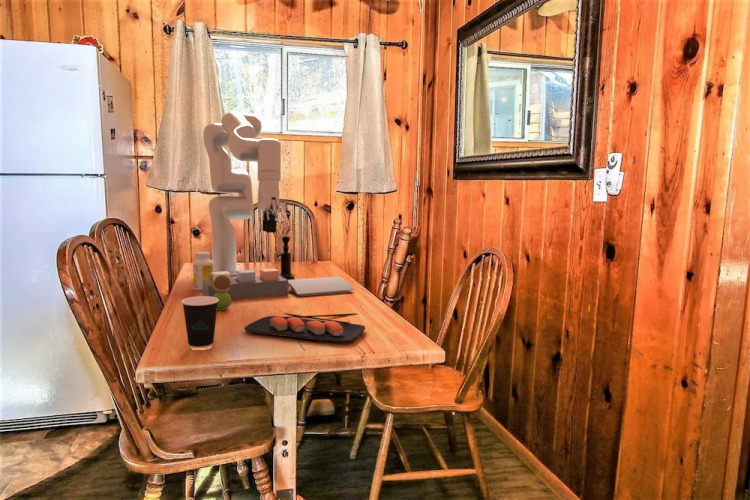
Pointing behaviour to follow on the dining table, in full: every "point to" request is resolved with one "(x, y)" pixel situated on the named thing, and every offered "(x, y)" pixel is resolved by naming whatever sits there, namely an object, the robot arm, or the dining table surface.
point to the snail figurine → (221, 290)
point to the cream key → (216, 274)
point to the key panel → (251, 288)
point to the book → (319, 286)
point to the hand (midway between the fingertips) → (269, 231)
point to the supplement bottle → (201, 269)
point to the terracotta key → (269, 274)
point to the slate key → (245, 276)
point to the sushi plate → (308, 327)
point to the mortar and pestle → (286, 260)
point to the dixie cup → (200, 320)
